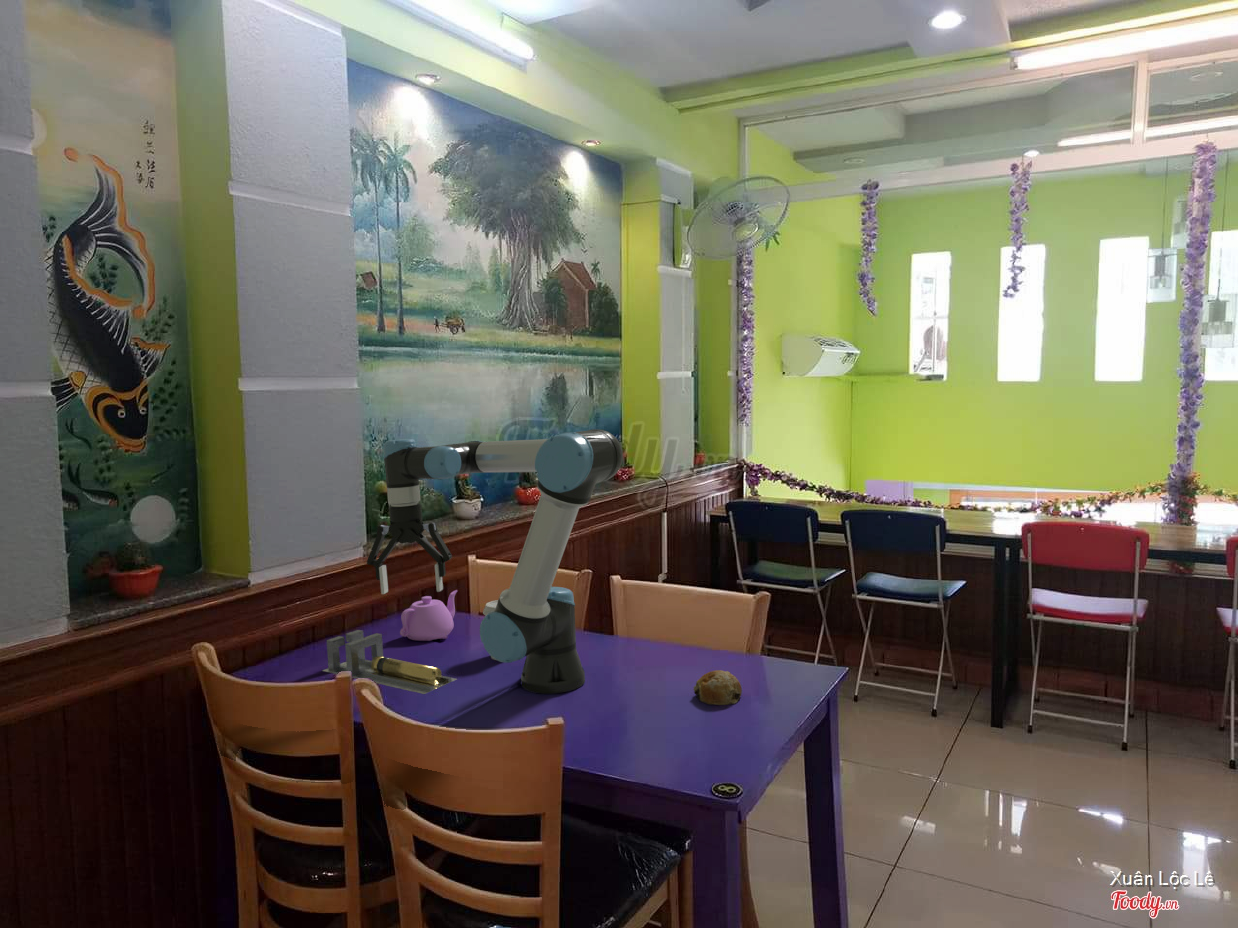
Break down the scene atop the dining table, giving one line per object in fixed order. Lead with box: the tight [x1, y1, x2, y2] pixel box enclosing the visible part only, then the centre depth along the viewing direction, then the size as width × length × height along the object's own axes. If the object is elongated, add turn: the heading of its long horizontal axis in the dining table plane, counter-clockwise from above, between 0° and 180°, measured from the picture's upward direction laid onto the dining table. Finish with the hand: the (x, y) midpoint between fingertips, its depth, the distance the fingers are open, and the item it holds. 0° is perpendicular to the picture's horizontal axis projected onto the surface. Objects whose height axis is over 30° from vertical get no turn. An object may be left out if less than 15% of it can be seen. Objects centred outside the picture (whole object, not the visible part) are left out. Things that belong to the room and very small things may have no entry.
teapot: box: [399, 589, 458, 642], centre depth 245 cm, size 20×14×12 cm
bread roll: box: [693, 669, 743, 706], centre depth 191 cm, size 10×10×8 cm
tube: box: [371, 656, 443, 685], centre depth 209 cm, size 20×4×4 cm, turn 57°
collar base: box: [321, 629, 458, 695], centre depth 212 cm, size 36×11×9 cm, turn 57°
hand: (412, 591), depth 207 cm, fingers open, 13 cm apart
